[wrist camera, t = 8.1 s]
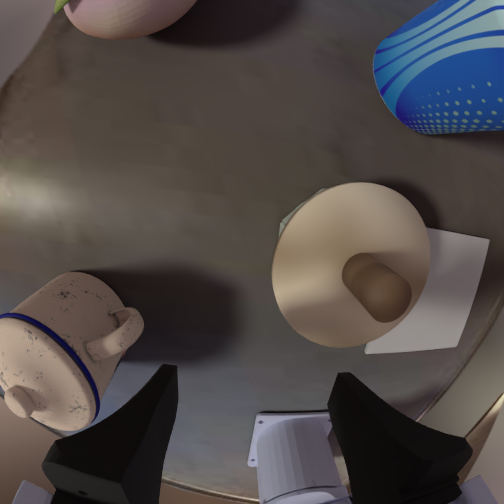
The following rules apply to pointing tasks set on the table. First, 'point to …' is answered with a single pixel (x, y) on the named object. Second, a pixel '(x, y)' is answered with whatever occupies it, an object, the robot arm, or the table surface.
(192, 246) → the table surface
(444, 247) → the mat
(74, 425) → the teacup with lid
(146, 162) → the table surface
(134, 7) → the decorative fruit
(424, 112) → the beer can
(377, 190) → the lid
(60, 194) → the table surface
